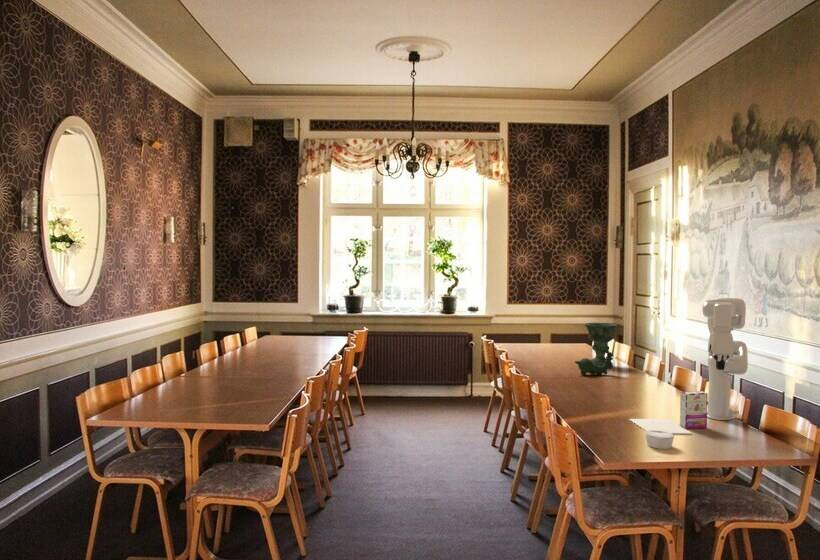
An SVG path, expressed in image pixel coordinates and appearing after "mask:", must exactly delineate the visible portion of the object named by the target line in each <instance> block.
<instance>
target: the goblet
mask: <svg viewBox="0 0 820 560" xmlns="http://www.w3.org/2000/svg"><path fill="white" fill-rule="evenodd" d="M584 326H585V327H586V329H587V333H588V336H587V337H588V338H589V340H590V341H592V342H593V344H592V346H591V349H592V350H593V351H594V353H595V357H594V358H591V359H590V360H591V361H592V362H593V363H594V364H596V365H600V366H602V365H603V364H604V363H605V360H606V356H605V355H606V353H605V352H604V351H602V352H600V351H601V350H602V349H608V350H610V346H609V342H611V341H613V339H614V333H615V331H616V329H617V328H618V326H619V325H618V324H615V323H611V322H587V323H585V324H584ZM610 367H612V368H613V367H614V365H613V364H611V365H610Z"/></svg>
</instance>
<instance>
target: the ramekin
mask: <svg viewBox="0 0 820 560" xmlns="http://www.w3.org/2000/svg"><path fill="white" fill-rule="evenodd" d="M645 439H646V444H647V446H648V445H649V446H648V447H650V448H652V447H653V448H652V449H656V448H658V449H657V450H669V449H671V448H672V446H673V442H674V439H675V434H671V433H668V432H664V431H656V430H651V431H645Z"/></svg>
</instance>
